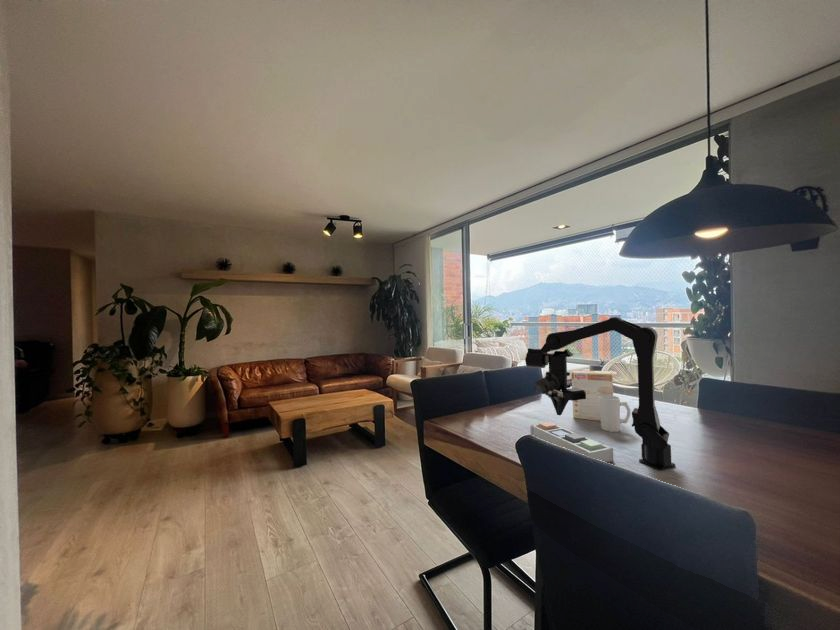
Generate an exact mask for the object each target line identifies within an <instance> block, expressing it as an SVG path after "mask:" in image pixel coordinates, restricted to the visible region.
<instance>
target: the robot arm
mask: <svg viewBox="0 0 840 630" xmlns="http://www.w3.org/2000/svg"><path fill="white" fill-rule="evenodd" d="M611 331H612V332H613V331H614V332H616V333H618V334H619V335H622V336H624V337H626V338H628V339H630V340H632V345H633V349H634V351H635V354H636V357H637V358H636V359H637V382H638V384H637V385H638V387H637V388H638V407H634V408H633V410H632V411H631V417H632V424H631V427H634V431H635V434H637V435H638V436H639V437H641V439H642V442H641V444H640V446H641V458H639V459H638V461H639V463H642V464H645V465H647V466H650V467H652V468H654V469H657V470H658V471H662V470H665V469H670V468H673V467H676V464H675V463H673V462H672V445H671V444H669V443H668V441H669V437H670V432H668V431H667V430H666V429H665V428H664V427H663V426H662V425H661V421H660V417H659V414H658V411H657V407H656V404H655V402H656V401H655V400H656V399H655V373H654V372H655V371H654V369H655V367H654V357H655V353H656V352H655V351H656V348H657V343H658V336H659V335H658V332H657V330H656V329H654V327H651V326H646V325H645V326H640V325H638V324H635V323H632V322H630V321H628V320H624V319H622V318H620V316H619V317H617V316H615V317H610V318H608V319H606V320H605V319H604V320H602V321H600V322H596V323H592V324H589V325H586V326H583V327H579V328H576V329H571V330H562V331H558V332H552V333H548V335H547V336H546V338H545V343H544V344H543V345H542V347H541V348H535V347H529V348H527V353H526V354H525V358H524V360H525V365H526V367H527V368H537V369H545V368H546V366H548V371H546V372H545V376H544V377H542V378H539V379H538V380H536V381H534V382H533V386H534V387H533V389H534V390H535V391H536V393H541V394H542V395H545V396H547V397H548V398H550V400H551V403H552V405H553V408H554V411H555V413H556V415H557V416H562V414H563V412H564V411H565V409H566V406H567V404H568V403H569V401H572V402H573V401H574V400H581V399H586V392H585V391H584V390H582V389H578V388H572V387H571V384H569V383H568V376H571V374H570V373H571V372H570V371H568V368H567V367H568V366H567V365H568V364H567V360H568V359H567V358H570V357H573V356H574V354H573V353H572V352H571V351H570V350H569V349H568V348H566V347H568V346H570V345H572V344H575V342H579V341H580V340H584V339H587V338H590V337H594V336H598V335H601V334H605V333H610V332H611ZM564 348H565V349H564ZM561 349H564V350H563V351H562V350H561ZM552 351H554V352H553V353H552ZM550 352H551V353H550Z"/></svg>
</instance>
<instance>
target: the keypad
mask: <svg viewBox="0 0 840 630" xmlns="http://www.w3.org/2000/svg"><path fill="white" fill-rule="evenodd" d="M549 422H550V421H549ZM550 423H552V422H550ZM555 425H556V429H552V430H546V431H545V430H543V429H540V428H539V423H538V424H532V425H529V428H530V429H529V430H530V436H531V435H534V436H535V437H538V438H540V439H543V440H545V441H548V442H550V443H553V444H556V445H558V446H561V447H565V448H567V449H570V450H573V451H575V452H578V453H581V454H584V455H586V456H589V457H592V458H595V459H599V460H602V461H605V462H609V463H612V462H614V447H612V446H610V447H609V446H607V445H605V444H603V443H601V444H602V449H599V450H594V451H589V450H587V449H584V448H582V447H580V442H579V443H574V444H573V443H571V442H569V441H567V440H565V436H560V437H558V436H556V435H554V434H551V432H554V431H559V430H562V431H564V432H566V433H569V434H571V433H575V432H574V431H572V430H569V429H566V428H564V427H563V426H559V425H557V424H555ZM584 437H585V440H590V439H591V438H588V437H586V436H584Z"/></svg>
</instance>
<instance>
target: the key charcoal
mask: <svg viewBox="0 0 840 630" xmlns="http://www.w3.org/2000/svg"><path fill="white" fill-rule="evenodd" d="M585 437H586V436H584V435H581V434H579V433H576V432H574V433H571V434H566V435H565V440H567V441H569V442H571V443H573V444H574V443H579V442H580V441H585Z"/></svg>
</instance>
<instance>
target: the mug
mask: <svg viewBox="0 0 840 630" xmlns="http://www.w3.org/2000/svg"><path fill="white" fill-rule="evenodd" d="M620 399H621V398H620V397H619V396H616V395H613V396H610V395H602V396H599V401H600V418H601V421H600V429H602V430H603V431H605V432H611V433H612V432H613V433H615V432H616V433H618V432H620V430H621V424H627V423H628V422H629V419H630V417H631V408H630V406H629V405H628V402H627V401H620ZM622 406H623V407H625V409H626V411H627V412H626V416H625V418H621V416H620V415H621V410H620V409H621V408H620V407H622Z"/></svg>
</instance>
